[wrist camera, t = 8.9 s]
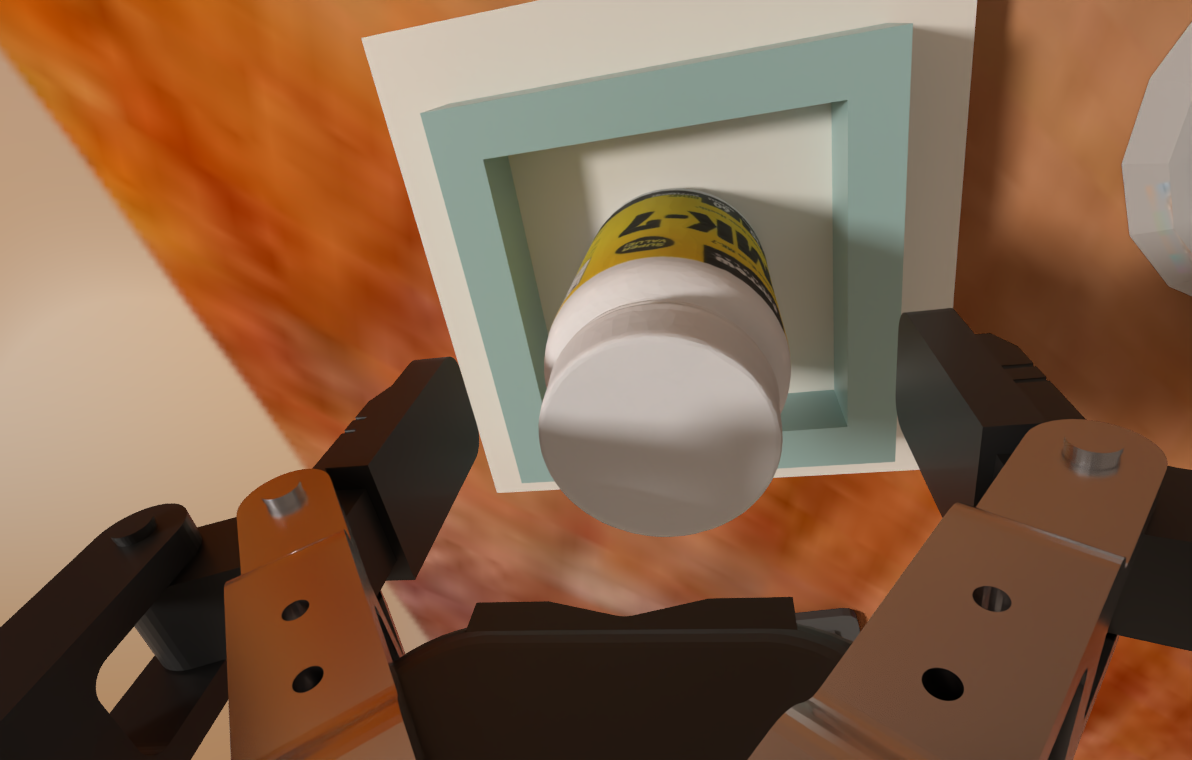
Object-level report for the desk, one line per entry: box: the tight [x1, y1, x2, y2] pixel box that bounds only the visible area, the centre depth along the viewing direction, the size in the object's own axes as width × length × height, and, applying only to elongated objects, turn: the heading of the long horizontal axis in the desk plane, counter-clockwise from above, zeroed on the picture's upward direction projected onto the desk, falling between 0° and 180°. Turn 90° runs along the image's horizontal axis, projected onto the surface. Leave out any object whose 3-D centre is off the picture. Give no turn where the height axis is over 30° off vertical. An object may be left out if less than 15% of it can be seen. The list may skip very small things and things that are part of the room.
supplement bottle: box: [538, 188, 791, 537], centre depth 14 cm, size 5×5×8 cm
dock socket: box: [361, 0, 977, 493], centre depth 18 cm, size 14×14×3 cm
